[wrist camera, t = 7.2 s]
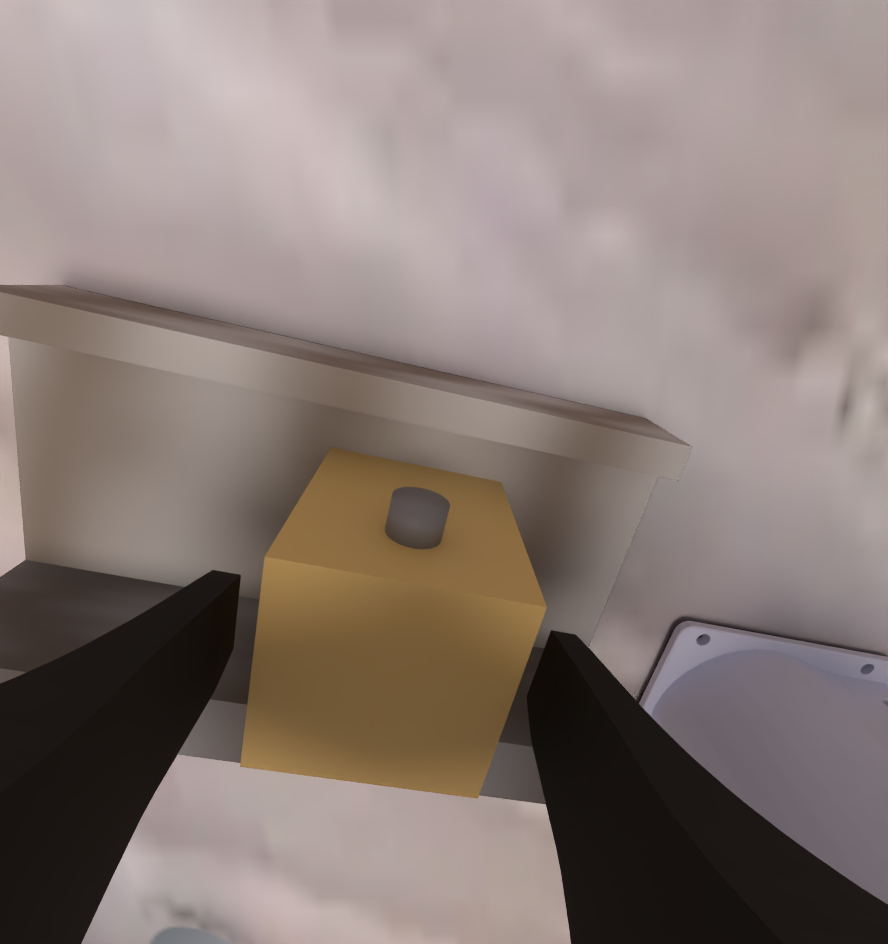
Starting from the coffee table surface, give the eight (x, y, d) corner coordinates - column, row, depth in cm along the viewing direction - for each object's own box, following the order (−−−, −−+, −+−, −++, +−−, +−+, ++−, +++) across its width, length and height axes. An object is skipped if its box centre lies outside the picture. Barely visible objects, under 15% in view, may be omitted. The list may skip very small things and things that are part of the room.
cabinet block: (508, 457, 14) (560, 569, 8) (461, 619, 16) (477, 799, 10) (335, 420, 14) (268, 514, 8) (308, 593, 16) (239, 766, 10)
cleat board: (646, 418, 16) (764, 490, 10) (553, 659, 19) (604, 811, 14) (61, 285, 14) (-186, 284, 8) (72, 578, 17) (-97, 717, 12)
